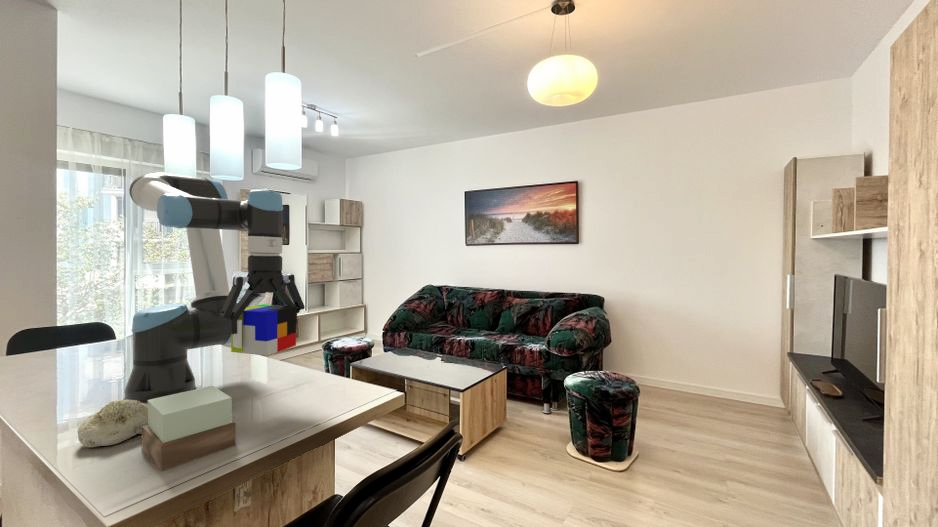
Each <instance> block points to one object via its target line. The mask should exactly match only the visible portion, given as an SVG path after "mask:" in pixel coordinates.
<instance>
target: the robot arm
mask: <svg viewBox="0 0 938 527" xmlns="http://www.w3.org/2000/svg"><path fill="white" fill-rule="evenodd" d="M128 190H129V193H128V194H129V196H130V198H131V200H132V201H133V202H134V203H135V205H136V206H138V207H140V208H141V209H143V210H146V211H150V212H151V211H152V212H156V217H157V219H158V222H159V224H160V225H161V226H162V227H163V226H164V227H166V228H167V227H169V228H176V229H184V228H185V229H186V235H187V242H188V248H189V249H188V250H189V257H190V264H191V269H192V276H193V284H194V291H195V292H194V293H195V298H194V299H193V300H192V301H191V302H190V307H188V306H187V304H186V303H182V302H181V303H169V304H162V305H156V306H152V307H147V308H144V309H141V310H139V311H137V312H136V313H134V315H133V316H132V323H131V324H132V325H131V330H130V331H131V333H132V368H131V373H130V375H129V377H128V379H127V383H126V385H125V387H124V400H127V399H128V400H137V401H140V402H141V403H146V402H148V400H150V399H154V398H159V397H163V396H168V395H172V394H177V393H181V392H186V391H190V390H195V388H196V378H195V375H194V372H193V370H192V368H191V366H190V364H189V361H188V350H192V349H200V348H205V347H206V348H207V347H212V346H218V345H223V346H224V345H226V344H231V334H233V347H236V348H242V320H240V319H238V318H239V317H240V315H241V314H242V313H243V311H244V310H245V309H246V307H249V305H250V303H251V302H252V301H253V299H254V298H255V297H257V295H258V294H266V293H270V294H271V293H273V294H275V295H276V297H278V299H279V300H280V301H281V303H282V304H283V306H294V307H296V325H297V324H298V314H299V313H300V311H301V310H305V304H304V302H303V299H302V297H301V294H300V293H299V289H298V287H297V285H296V283H295V281H296V280H295V275H294V274H293V273H286V274H283V273H282V271H283V256H282V253H283V224H284V223H283V222H284V221H283V218H284V217H283V215H284V212H283V211H284V206H283V195H282V194H281V192H278V191H274V190H267V189H251V190H249V191H248V193H247V199H246V200H238V199H237V200H235V199H228V198H229V197H228V193H227V190H226V189H225V186H224V185H223V183H221V182H220V181H218V180H216V179H212V178H211V179H210V178H207V177H199V176H198V177H197V176H191V175H181V174H175V173H174V174H173V173H168V172H153V173H152V172H151V173H147V174H144V175H143V174H142V175H140V176H138V177H137V178H135V179H133V181H132V182H131V184H130V186H129V189H128ZM221 230H227V231H228V230H229V231H239V232H247V253H248V254H250V255H248V256H247V275H246V276H240V275H239V276H238V275H234V276H233V277H232V286H231V288H230V287H229V280H228V274H227V269H226V263H225V262H226V260H225V256H224V250H223V244H222V237H221V232H220V231H221ZM280 254H281V255H280ZM282 282H284V283H285V287H286V288H287V290H288V292H289V295H288V294H287V293H286V292H285V289H284V288H283V287H282V286H281V284H282ZM246 283H247V284H248V285H249V286H248V288H246V290H245V291H244V292H245V293H244V294H243V295H242V297H241V298H240V299H239V297H240V294H241V292H242V290H243V287H244V286H245V284H246ZM289 296H290V297H289ZM238 299H239V301H238Z"/></svg>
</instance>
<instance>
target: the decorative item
mask: <svg viewBox="0 0 938 527" xmlns="http://www.w3.org/2000/svg"><path fill="white" fill-rule="evenodd" d="M145 425H148V403H146V402H140V401H137V400H128V399H127V400H126V399H121V400H115V401H111V402H108V403H106V405H103V407H101V409H100V410H99V411H98V412H96V413H95V414H93V415H90V416H88V417H87V418H86V419H85V420H84V421H83V422H82V424H81V425H80V426H79V427H78V428H77V439H78V441H79V442H80V444H81V445H82V446H83V447H84V448H96V447H102V446H103V447H107V446H112V445H116V444H120V443H121V442H124V441H126V440H128V439H131V438H132V437H134V436H136V435H142V426H145Z"/></svg>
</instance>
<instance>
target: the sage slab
mask: <svg viewBox="0 0 938 527" xmlns="http://www.w3.org/2000/svg"><path fill="white" fill-rule="evenodd" d="M232 399H233V397H231V396H230V395H229V394H226V393H225V392H224V391H222V390H220V389H218V388H217V387H215V386H214V385H210V386H205V387H200V388H199V387H198V388H196V389H195V388H194V389H193V390H190V391H186V392H181V393H177V394H172V395H168V396H163V397H159V398H154V399H150V400H148V401H147V405H148V426H149V427H150V428H151V429H152V431H153V432H154V433H155V434H156V435H157V436H158V438H159V439H160V440H161V441H162V442H163V443H165V442H169V441H172V440H175V439H179V438H182V437H186V436H189V435H192V434H196V433H199V432H202V431H206V430H209V429H213V428H216V427H219V426H223V425H226V424H230V423H232V420H233V400H232Z"/></svg>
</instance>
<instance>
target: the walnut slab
mask: <svg viewBox="0 0 938 527" xmlns="http://www.w3.org/2000/svg"><path fill="white" fill-rule="evenodd" d="M236 434H237V433H236V421H234V420H233V419H232V423H230V424H226V425H223V426H219V427H216V428H213V429H209V430H206V431H202V432H199V433H196V434H192V435H189V436H186V437H182V438H179V439H175V440H172V441H169V442H165V443H163V442H162V441H161V440H160V439H159V438H158V436H157V435H156V434H155V433H154V432H153V431H152V429H151V428H150V427H149V426H148V425H145V426H142V434H141V450H142V451H143V453H144V454H145V455H146V456H147V457H148V458H149V459H150V461H152V462H153V463H154V465H155V466H156V467H157V468H158V469H159V470H160V471H161V472H164V471H167V470H169V469H172V468H176V467H178V466H181V465H184V464H186V463H188V462H192V461H194V460H198V459H201V458H203V457H206V456H208V455H212V454H214V453H218V452H220V451H223V450H225V449H229V448H232V447H234V446H236V440H237V439H236V436H237V435H236Z"/></svg>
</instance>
